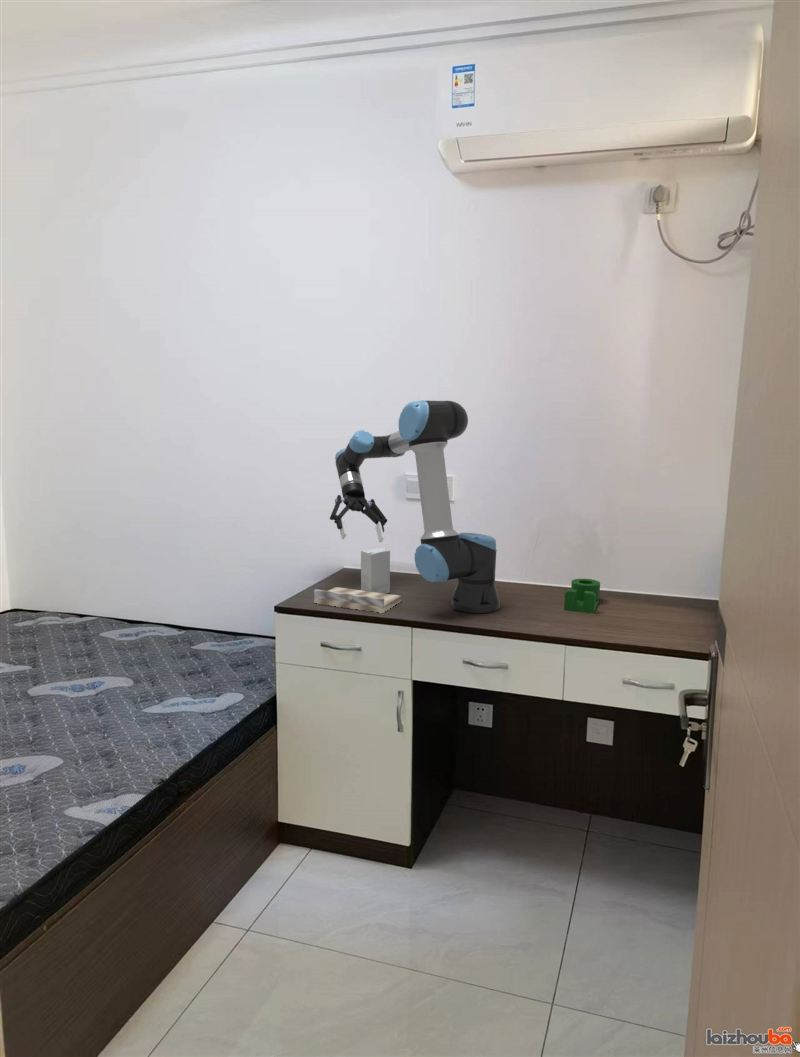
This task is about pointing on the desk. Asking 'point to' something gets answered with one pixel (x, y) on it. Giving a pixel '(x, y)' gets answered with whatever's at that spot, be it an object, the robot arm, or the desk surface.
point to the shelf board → (356, 599)
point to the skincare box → (375, 570)
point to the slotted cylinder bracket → (582, 596)
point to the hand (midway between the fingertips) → (363, 538)
